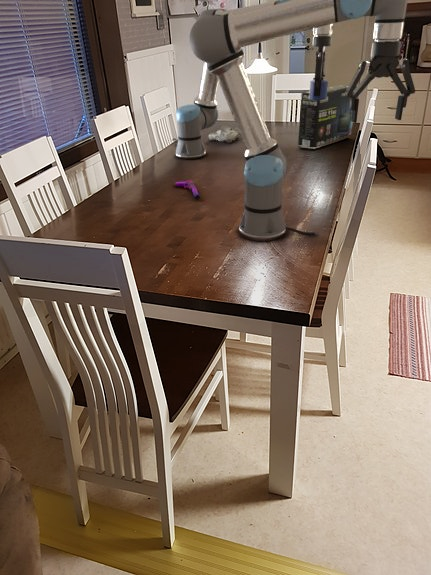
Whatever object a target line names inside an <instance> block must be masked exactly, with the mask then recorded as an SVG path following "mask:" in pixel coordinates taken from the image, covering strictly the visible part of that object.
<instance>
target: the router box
mask: <svg viewBox="0 0 431 575" xmlns="http://www.w3.org/2000/svg"><path fill="white" fill-rule="evenodd" d="M348 86H349V84H339V85H338V84H337V85H334V86H328V89H327V99H326V100H310V99H309V93H310V90H309V91H304V92H301V93H300V109H299V110H300V111H299V124H298V137H297V146H298V145H302V146H307V147H317V146H320V145H323V144H325V143H328V142H331V141H333V140H336V139H338V138H341V137H344V136H347V135H351V136H352V133H353V132H352V131H353V125H354V122H352V121H351V117H352V110H350V97H347V96H345V91H346V90H347V88H348ZM357 86H358V85H357ZM357 86H356V87H355V89H356V88H357ZM355 89H354V90H355ZM311 151H313V150H312V149H311Z"/></svg>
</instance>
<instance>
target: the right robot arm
mask: <svg viewBox="0 0 431 575" xmlns="http://www.w3.org/2000/svg"><path fill="white" fill-rule="evenodd" d="M407 6H408V0H291V1H287V2H284V3H280V4H277V5H273V6H269V7H266V8H262V9H259V10H255V11H251V12H248V13H244V14H241V15H237V16H234V15H233V14H232V13H228V14H224V15H218V14H216V15H213V16H205V17H202V18H200V19H199V20H198V19H197V20H196V21H195V22H194V23H193V25H192V26H191V29H190V32H189V36H188V37H189V46H190V48H191V51H192V53H193V54H194V56H195V57H196V58H197V59H198V60H200V61H202V62H203V63H204V62H205V63H206V65H207V68H208V70H209V72H210V73H211V74H214V75H215V76H217V79H218V85H219V87H220V88H221V91H222V94H223V95H224V98H225V101H226V103H227V105H228V108H229V111H230V113H231V115H232V118H233V120H234V123H235V126H236V129H238V130H239V133H240V138H241V140H242V142H243V145H244V147H245V152H244V154H243V157H244V160H245V164H244V170H243V175H244V211H243V213H242V214H241V217H240V218H241V220H240V222H239V225H238V232H239V235H240V236H241V237H242V238H244V239H247V240H250V241H254V242H271V241H277V240H279V239H281V238H283V237H285V235H286V234H287V231H290V232H293V233H296V234H301V235H303V236H305V235H306V236H316V232H315V231H303V230H299V229H296V228H292V227H289V226H287V223H286V221H285V216H284V214H283V210H282V200H283V184H284V181H285V178H286V175H287V173H288V167H289V166H288V160H287V157H286V155H285V154H284V152H283V151H282V150H281V148H280V146H279V143H278V141H277V139H273V138H272V137H271V136H270V133H269V130H268V127H267V125H266V122H265V119H264V117H263V114H262V112H261V109H260V107H259V103H258V102H257V99H256V96H255V93H254V91H253V88H252V85H251V83H250V80H249V77H248V75H247V73H246V70H245V67H244V64H243V61H244V58H245V52H244V50H243V48H245V47H248V46H252V45H256V44H259V43H264V42H267V41H271V40H275V39H279V38H283V37H286V36H287V37H288V36H291V35H294V34H298V33H302V32H306V31H309V30H314V28H318V27H322V26H325V25H329V24H337V23H341V22H345V21H349V20H357V19H360V18H361V17H375V21H374V29H373V36H372V38H373V40H374V41H373V42H372V44H371V52H370V60H369V61H366V60H359V62H358V66H357V69H356V71H355V73H354V75H353V77H352V79H351V81H350V82H349V84H348V85H349V86H348V88H347V90H346V91H345V96H347V97H350V110H352V117H351V121H352V122H353V124H354V123H355V124H356V123H357V120H358V113H359V105H360V99H359V98H358V97H359V96H360V95H361V94H362V92H363V91H364V90H365V89H366V88H367V87H368V85H369V84H370V83H371V82H372V81H373V80H374V79H375V78H377V79H381V78H389V77H390V79H391V80H392V82H393V83H394V85H395V86H396V88H397V89H398V91H399V93H400V95H398V97H397V103H396V109H395V116H394V119H395V120H397V121H402V116H403V112H404V108H407V105H408V97H410V95H412V94H413V95H414V94H415V93H416V87H415V84H414V81H413V77H412V74H411V70H410V59H409V58H402V59H399V57H400V52H401V47H402V46H401V45H402V42H401V41H400V40H401V39H402V38H403V32H404V26H405V18H406V13H407ZM398 67H399V68H400V69H401V73H402V77H403V80H404V82H403V81H402V79H401V78H400V76H399V73H398V72H397V70H396V69H397V68H398ZM367 69H369V71H368V72H367V74H366V75H365V77H364V78H363V79H362V76H363V75H364V73H365V71H366V70H367ZM361 79H362V80H361ZM360 80H361V81H360ZM359 82H360V83H359ZM356 86H357V88H356V89H355V87H356ZM354 89H355V90H354Z"/></svg>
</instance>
